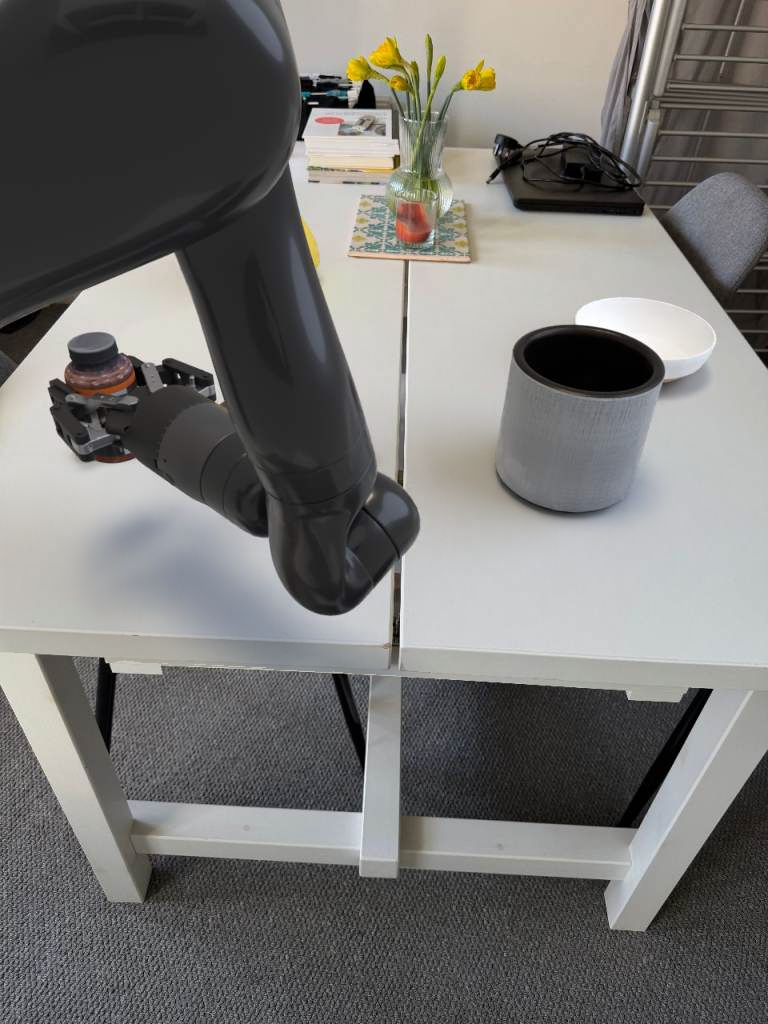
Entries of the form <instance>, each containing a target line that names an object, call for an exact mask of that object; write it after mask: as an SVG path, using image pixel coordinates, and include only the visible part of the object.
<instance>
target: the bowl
mask: <svg viewBox="0 0 768 1024" xmlns="http://www.w3.org/2000/svg"><path fill="white" fill-rule="evenodd" d="M573 325H588V326H595V327H601V328H606V329H610V330H613V331H617V332H620V333H623V334H626V335H628V336H630V337H633V338H635V339H637V340H639V341H641V342H642V343H644V344H646V345H647V346H648V347H650V348H651V349H652V350H654V351H655V352H656V353H657V354H658V355H659V357H660V358H661V360H662V361H663V363H664V366H665V377H664V380H663V383H670V382H673V381H676V380H679V379H682V378H683V377H687V376H689V375H691V374H693V373H695V372H697V371H698V370H699V369H700V368H701V367H702V366H703V365H704V364H705V362H707V361H708V360H709V358H710V356H711V354H712V353H713V350H714V348H715V346H716V344H717V335H716V334H717V333H716V332H715V329H713V327H712V325H711V324H710V323H709V322H707V321H706V320H705V319H704V318H702V317H701V316H699V315H698V314H696V313H694V312H692V311H690V310H688V309H685V308H683V307H680V306H678V305H675V304H673V303H668V302H664V301H662V300H661V301H660V300H655V299H651V298H645V297H644V298H643V297H632V296H631V297H629V296H627V297H626V296H618V297H617V296H616V297H606V298H602V299H597V300H594V301H591V302H588V303H586V304H584V305H583V306H581V307H580V308H579V309H578V310H577V311H576V313H575V315H574V318H573Z"/></svg>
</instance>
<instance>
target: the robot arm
mask: <svg viewBox="0 0 768 1024" xmlns="http://www.w3.org/2000/svg"><path fill="white" fill-rule="evenodd" d="M292 41H293V40H292V37H291V34H290V30H289V27H288V23H287V20H286V17H285V13H284V9H283V6H282V3H281V0H0V329H2V328H3V327H5V326H8V325H9V324H11V323H14V322H15V321H17V320H19V319H21V318H23V317H26V316H28V315H30V314H33V313H35V312H36V311H39V310H41V309H43V308H45V307H48V306H51V305H52V304H55V303H57V302H59V301H62V300H64V299H67V298H69V297H71V296H75V295H76V294H78V293H81V292H83V291H85V290H89V289H90V288H92V287H96V286H97V285H100V284H102V283H104V282H108V281H109V280H112V279H114V278H117V277H119V276H122V275H124V274H126V273H129V272H132V271H134V270H136V269H139V268H141V267H143V266H146V265H148V264H151V263H153V262H155V261H158V260H160V259H163V258H165V257H168V256H170V255H172V254H174V256H175V259H176V261H177V263H178V266H179V269H180V271H181V274H182V276H183V279H184V281H185V284H186V286H187V288H188V292H189V295H190V297H191V300H192V303H193V306H194V308H195V311H196V315H197V317H198V321H199V324H200V327H201V331H202V333H203V336H204V340H205V343H206V346H207V349H208V353H209V356H210V359H211V360H210V361H211V363H212V366H213V369H214V373H215V376H216V380H217V382H218V385H219V389H220V393H221V394H222V399H223V402H225V405H226V407H227V409H226V408H224V407H223V406H221V405H220V403H217V402H216V401H217V399H218V398H217V392H216V386H215V385H216V384H215V379H214V378H215V377H214V374H213V373H211V372H209V371H206V370H203V369H202V368H198V367H196V366H193V365H191V364H189V363H185V362H183V361H181V360H179V359H176V358H174V357H166V358H164V359H162V360H161V364H157V365H156V364H155V363H154V362H149V361H148V362H145V361H143V360H142V359H139V358H138V357H136V356H134V355H131V354H129V355H127V354H126V353H124V352H119V353H120V354H122V355H124V356H126V357H127V358H128V359H129V360H130V361H131V363H132V365H133V368H134V372H135V377H136V380H137V385H138V388H135V389H134V390H132V391H131V392H129V393H126V394H123V395H119V396H115V395H109V394H103V393H95V394H94V395H93V396H88V395H82V394H78V392H77V391H76V390H75V389H73V388H72V387H70V386H69V385H67V384H66V383H65V381H62V380H61V379H59V378H58V377H56V378H53V379H51V380H48V384H49V387H47V391H48V395H49V398H50V401H51V404H52V405H51V406H50V407H49V412H50V415H51V417H52V420H53V423H54V425H55V431H56V434H57V436H58V437H59V438H60V439H61V440H62V441H63V443H65V444H66V446H67V447H68V448H69V449H70V450H71V451H72V452H73V454H74V455H75V456H76V457H77V459H78V460H79V461H81V462H84V463H89V462H92V460H93V459H94V458H95V453H94V450H96V449H99V448H102V447H104V446H107V445H110V444H111V445H112V446H114V447H117V448H124V449H127V450H128V451H129V452H130V453H131V454H132V455H133V456H134V457H135V459H136V460H137V461H138V462H139V463H140V464H141V465H142V466H144V467H146V468H147V469H148V470H150V471H151V472H152V473H154V474H156V475H157V476H158V477H160V478H161V479H163V480H164V481H165V482H166V483H169V484H170V485H171V486H173V487H174V488H176V489H177V490H179V491H180V492H181V493H183V494H184V495H186V496H187V497H189V498H190V499H192V500H194V501H195V502H198V503H200V504H203V505H205V506H207V507H208V508H210V509H212V510H213V511H214V512H216V513H217V514H219V515H220V516H222V517H223V518H225V519H226V520H227V521H229V522H230V523H231V524H233V525H235V526H236V527H238V528H239V529H240V530H241V531H244V532H245V533H246V534H249V535H250V536H252V537H255V538H261V539H268V544H269V551H270V557H271V560H272V563H273V566H274V570H275V572H276V574H277V576H278V579H279V581H280V583H281V585H282V586H283V588H284V589H285V590H286V592H287V593H288V594H289V595H290V597H291V598H292V599H293V600H294V601H295V602H296V603H297V604H298V605H300V606H301V607H303V608H304V609H305V610H307V611H309V612H311V613H313V614H317V615H320V616H327V617H335V616H342V615H345V614H347V613H350V612H351V611H353V610H355V609H356V608H357V607H358V606H359V605H361V604H362V603H363V602H364V601H365V599H366V598H367V597H368V596H369V595H370V594H371V592H372V591H373V590H374V589H375V588H376V587H377V586H378V585H379V584H380V582H381V581H383V579H384V578H385V577H386V576H387V574H388V573H390V571H392V569H393V568H394V566H396V564H397V563H398V562H399V561H400V560H401V559H402V558H403V557H404V556H405V555H406V553H408V551H409V550H410V549H411V548H412V546H413V545H414V544H415V542H416V540H417V539H418V537H419V533H420V531H421V516H420V512H419V509H418V507H417V504H416V502H415V501H414V499H413V497H412V496H411V494H410V493H409V492H408V491H407V490H406V489H405V488H404V487H403V486H402V485H401V484H400V483H399V482H397V481H396V480H394V479H393V478H392V477H390V476H388V475H387V474H385V473H382V472H380V471H378V464H377V456H376V451H375V448H374V444H373V440H372V437H371V434H370V430H369V427H368V423H367V420H366V416H365V413H364V409H363V405H362V402H361V399H360V396H359V393H358V389H357V386H356V383H355V380H354V377H353V375H352V371H351V369H350V366H349V363H348V360H347V357H346V354H345V352H344V349H343V346H342V342H341V340H340V338H339V334H338V332H337V328H336V326H335V323H334V320H333V316H332V313H331V311H330V308H329V305H328V302H327V299H326V296H325V293H324V291H323V287H322V283H321V281H320V278H319V276H318V272H317V270H316V269H315V265H314V262H313V259H312V256H311V253H310V249H309V245H308V242H307V238H306V234H305V231H304V227H303V223H302V220H301V217H302V215H301V212H300V208H299V203H298V199H297V195H296V191H295V186H294V182H293V176H292V171H291V166H290V160H291V157H292V155H293V152H294V149H295V146H296V142H297V139H298V135H299V130H300V124H301V118H302V87H301V86H302V85H301V77H300V72H299V68H298V64H297V63H298V62H297V58H296V53H295V50H294V46H293V45H294V44H293V42H292ZM165 385H166V386H165ZM105 407H106V408H107V412H106V408H105ZM84 408H87V409H88V410H89V412H90V414H86V412H85V409H84ZM89 427H91V428H89ZM93 461H94V460H93Z"/></svg>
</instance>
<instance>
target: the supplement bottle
mask: <svg viewBox="0 0 768 1024" xmlns="http://www.w3.org/2000/svg"><path fill="white" fill-rule="evenodd" d="M66 346H67V350H68V354H69V358H70V360H71V361H70V362H69V363H67V365H66V366H65V369H64V371H63V375H64V376H63V377H64V378H63V379H64V383H66V384H67V385H69V386H70V387H72V388H73V389H75V390H76V391H77V392H78V394H82V395H88V396H93V395H94V394H95V393H103V394H109V395H115V396H119V395H123V394H126V393H129V392H131V391H132V390H134V389H135V388H138V385H137V380H136V377H135V372H134V368H133V365H132V363H131V361H130V360H129V359H128V358H127V357H126V356H124V355H122V354H120V353H121V352H119V348H118V344H117V339H116V337H115V336H114V335H112V334H111V333H108V332H104V331H89V332H85V333H81V334H78V335H76V336H74V337H72V338H71V339H69V341H68V342H67V345H66ZM105 408H106V407H105ZM84 409H85V412H86V414H90V412H89V410H88V409H87V408H84ZM106 412H107V408H106ZM89 428H91V427H89ZM94 453H95V458H94V460H93V461H95V462H98V463H102V464H109V465H110V464H121V463H126V462H129V461H132V460H135V459H136V458H135V457H134V456H133V455H132V454H131V453H130V452H129V451H128V450H127V449H124V448H117V447H114V446H112V445H111V444H110V445H107V446H104V447H102V448H99V449H96V450H94Z"/></svg>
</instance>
